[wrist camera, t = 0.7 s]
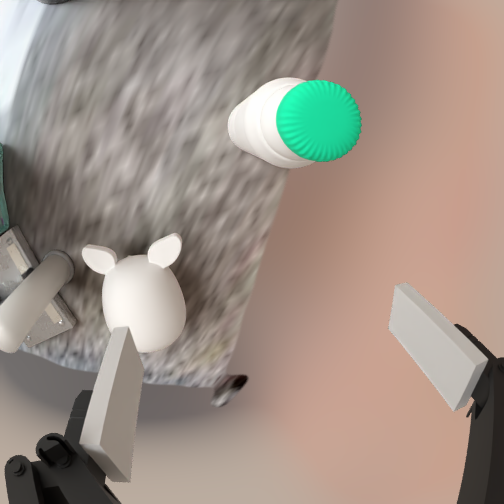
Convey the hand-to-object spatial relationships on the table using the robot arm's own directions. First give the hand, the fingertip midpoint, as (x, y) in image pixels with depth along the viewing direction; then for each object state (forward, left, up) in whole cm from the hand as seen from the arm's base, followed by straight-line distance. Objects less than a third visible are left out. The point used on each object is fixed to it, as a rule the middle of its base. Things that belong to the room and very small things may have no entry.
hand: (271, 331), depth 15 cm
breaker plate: (-2, -36, -29) cm, 46 cm away
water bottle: (-7, +7, -29) cm, 31 cm away
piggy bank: (+5, -14, -29) cm, 33 cm away
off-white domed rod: (-2, -27, -29) cm, 40 cm away
